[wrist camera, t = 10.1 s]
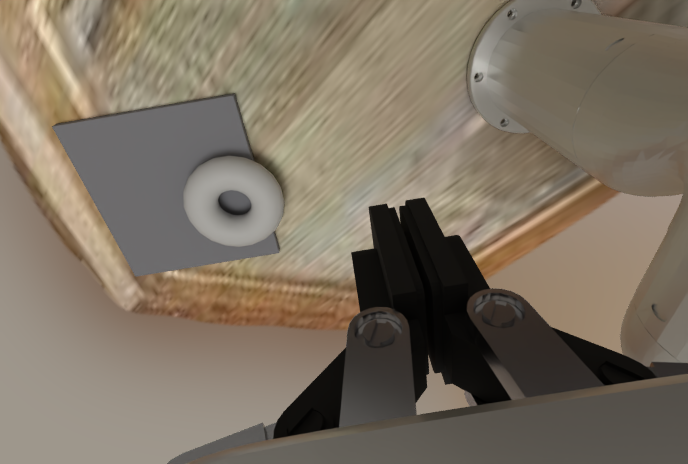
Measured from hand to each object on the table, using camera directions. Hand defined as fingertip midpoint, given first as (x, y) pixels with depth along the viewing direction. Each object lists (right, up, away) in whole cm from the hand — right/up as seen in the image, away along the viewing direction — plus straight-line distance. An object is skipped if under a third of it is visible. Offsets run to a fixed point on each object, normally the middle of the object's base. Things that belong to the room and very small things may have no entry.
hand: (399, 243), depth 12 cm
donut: (-8, +5, +28) cm, 30 cm away
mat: (-19, +4, +30) cm, 36 cm away
